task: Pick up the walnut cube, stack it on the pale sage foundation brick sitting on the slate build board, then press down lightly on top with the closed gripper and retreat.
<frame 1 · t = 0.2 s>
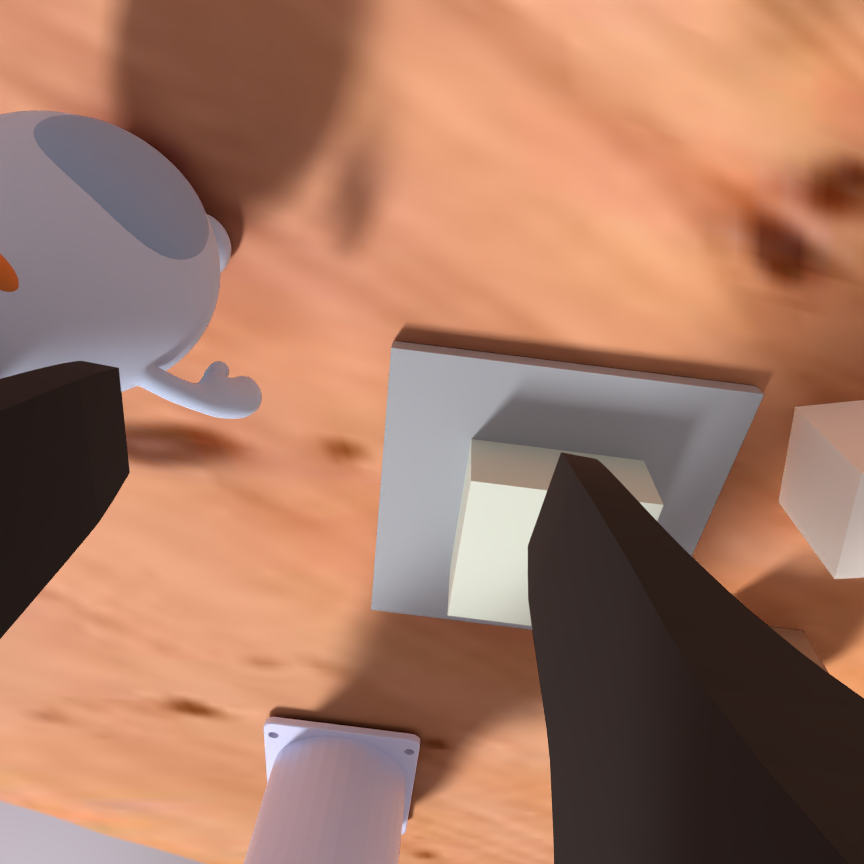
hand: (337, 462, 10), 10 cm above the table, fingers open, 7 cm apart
toy figure: (173, 217, 18), on the table
build board: (538, 507, 22), on the table
walnut cube: (730, 657, 26), on the table
foundation brick: (539, 517, 22), point 1 cm above the table, touching build board
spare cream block: (846, 450, 20), on the table
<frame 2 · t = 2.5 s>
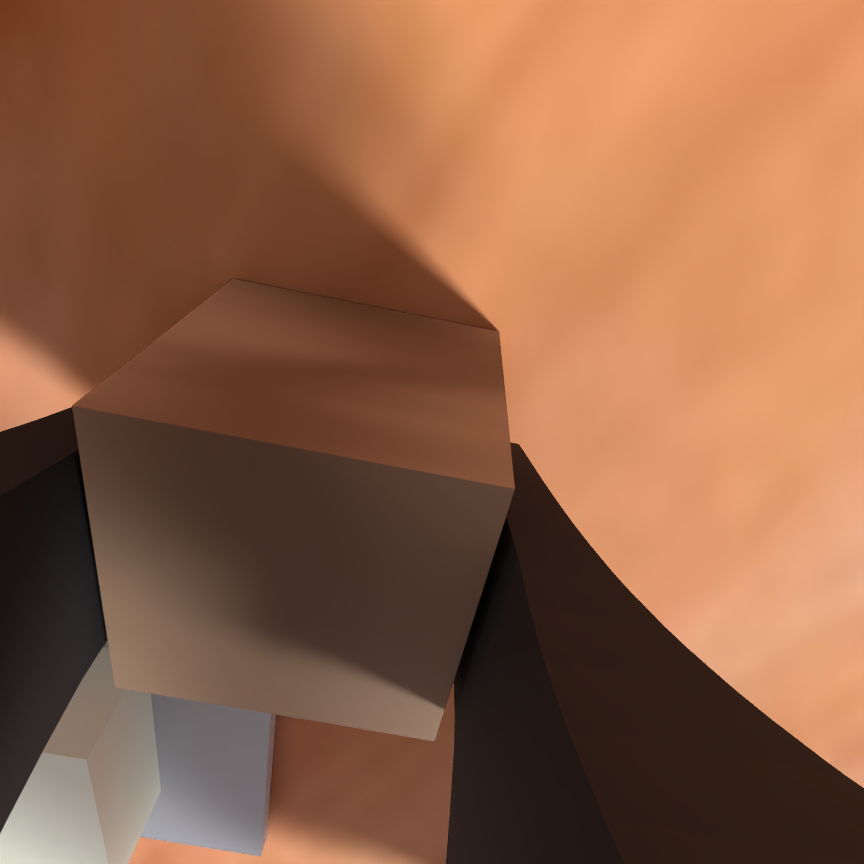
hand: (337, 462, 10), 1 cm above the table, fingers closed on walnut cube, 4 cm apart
build board: (53, 689, 16), on the table
walnut cube: (352, 420, 11), on the table, touching gripper
foundation brick: (38, 709, 15), point 1 cm above the table, touching build board
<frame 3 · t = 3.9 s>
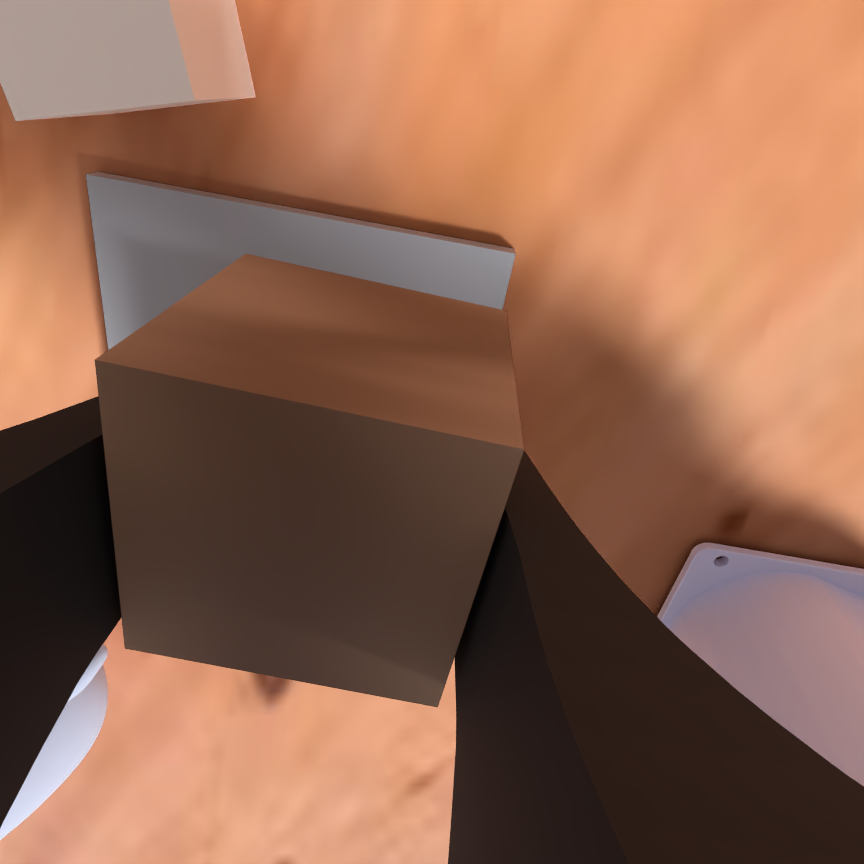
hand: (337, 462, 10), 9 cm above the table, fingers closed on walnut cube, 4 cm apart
toy figure: (87, 611, 26), on the table
build board: (298, 394, 20), on the table
walnut cube: (359, 397, 11), point 8 cm above the table, touching gripper
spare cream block: (160, 14, 15), on the table
when the fingers open (6 cm above the table, at t = 5.3 s): walnut cube stays where it is, resting on foundation brick.
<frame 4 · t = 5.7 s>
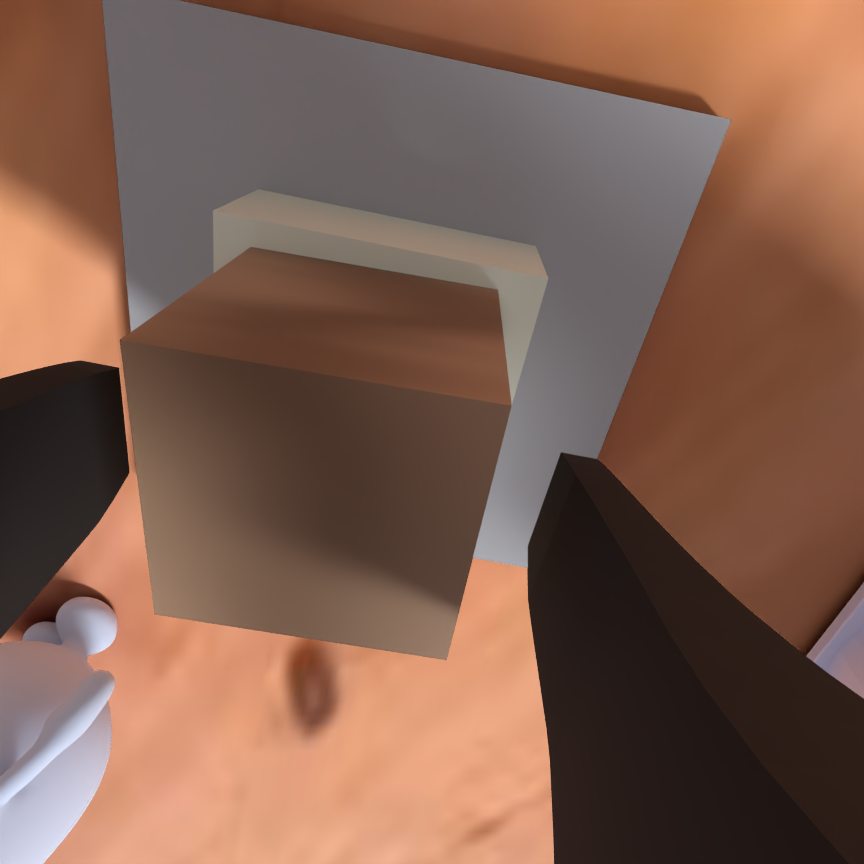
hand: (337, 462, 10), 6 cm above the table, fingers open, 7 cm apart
toy figure: (85, 622, 21), on the table
build board: (382, 337, 15), on the table
walnut cube: (363, 379, 12), point 3 cm above the table, touching foundation brick
foundation brick: (379, 346, 14), point 1 cm above the table, touching build board, walnut cube
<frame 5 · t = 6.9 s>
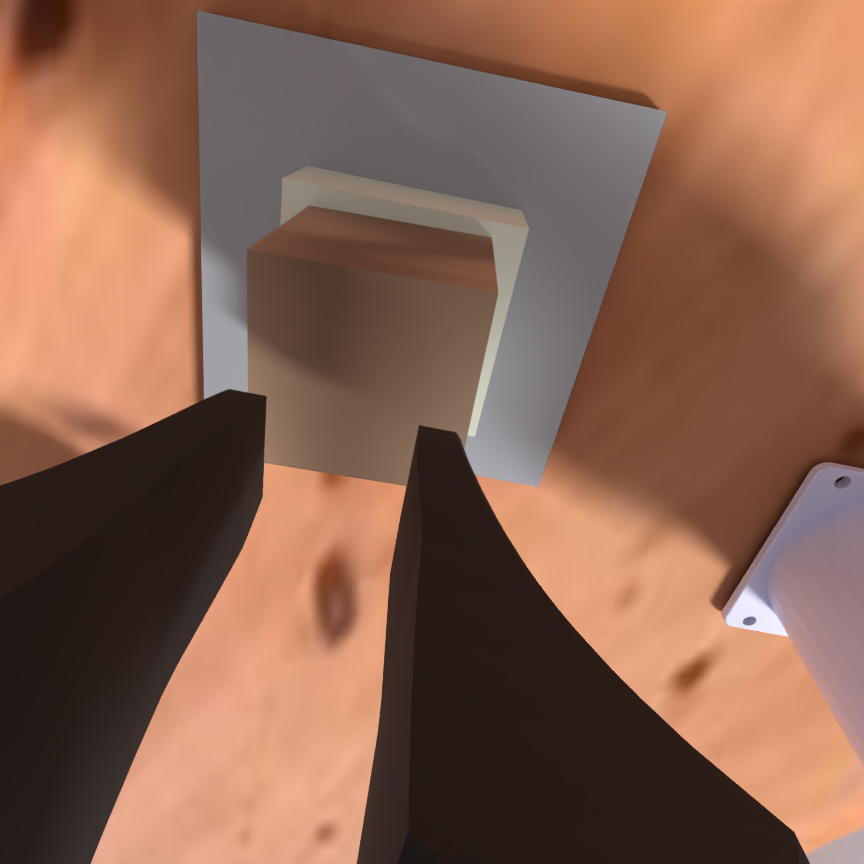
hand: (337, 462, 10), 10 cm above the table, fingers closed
build board: (401, 287, 18), on the table
walnut cube: (389, 309, 15), point 3 cm above the table, touching foundation brick
foundation brick: (399, 292, 18), point 1 cm above the table, touching build board, walnut cube
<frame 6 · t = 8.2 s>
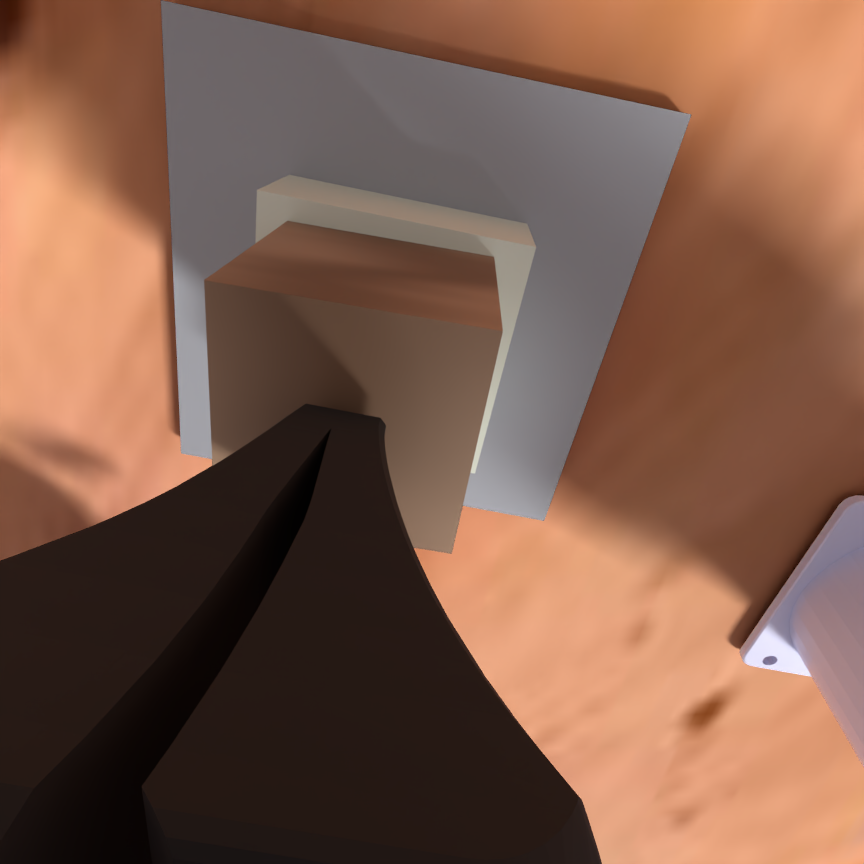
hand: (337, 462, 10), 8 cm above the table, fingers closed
build board: (394, 306, 17), on the table
walnut cube: (379, 336, 14), point 3 cm above the table, touching foundation brick
foundation brick: (391, 313, 16), point 1 cm above the table, touching build board, walnut cube
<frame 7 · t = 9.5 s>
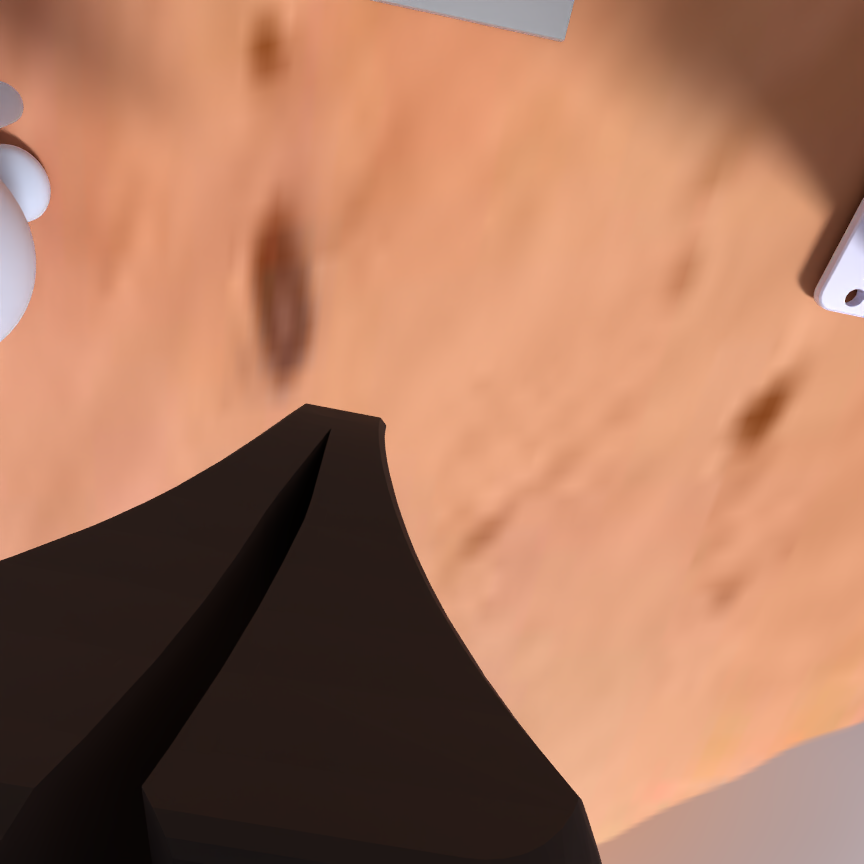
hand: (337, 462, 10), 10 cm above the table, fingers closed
toy figure: (16, 208, 18), on the table
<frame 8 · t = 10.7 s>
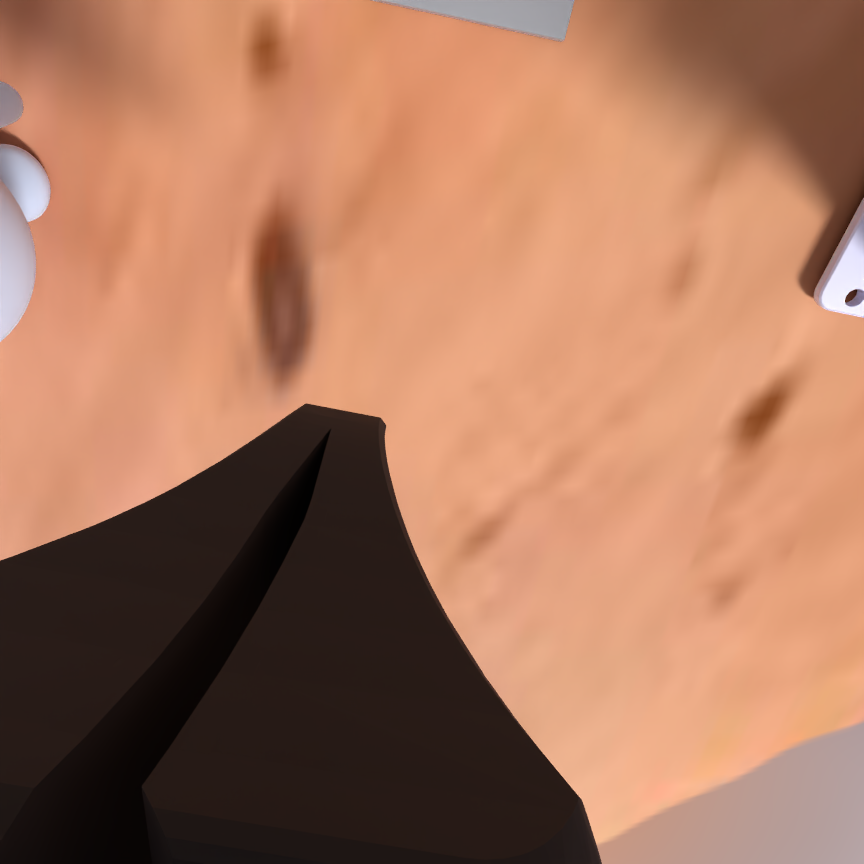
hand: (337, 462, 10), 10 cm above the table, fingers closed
toy figure: (16, 208, 18), on the table
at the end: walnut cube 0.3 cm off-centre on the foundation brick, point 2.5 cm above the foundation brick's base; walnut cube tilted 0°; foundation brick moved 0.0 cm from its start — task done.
